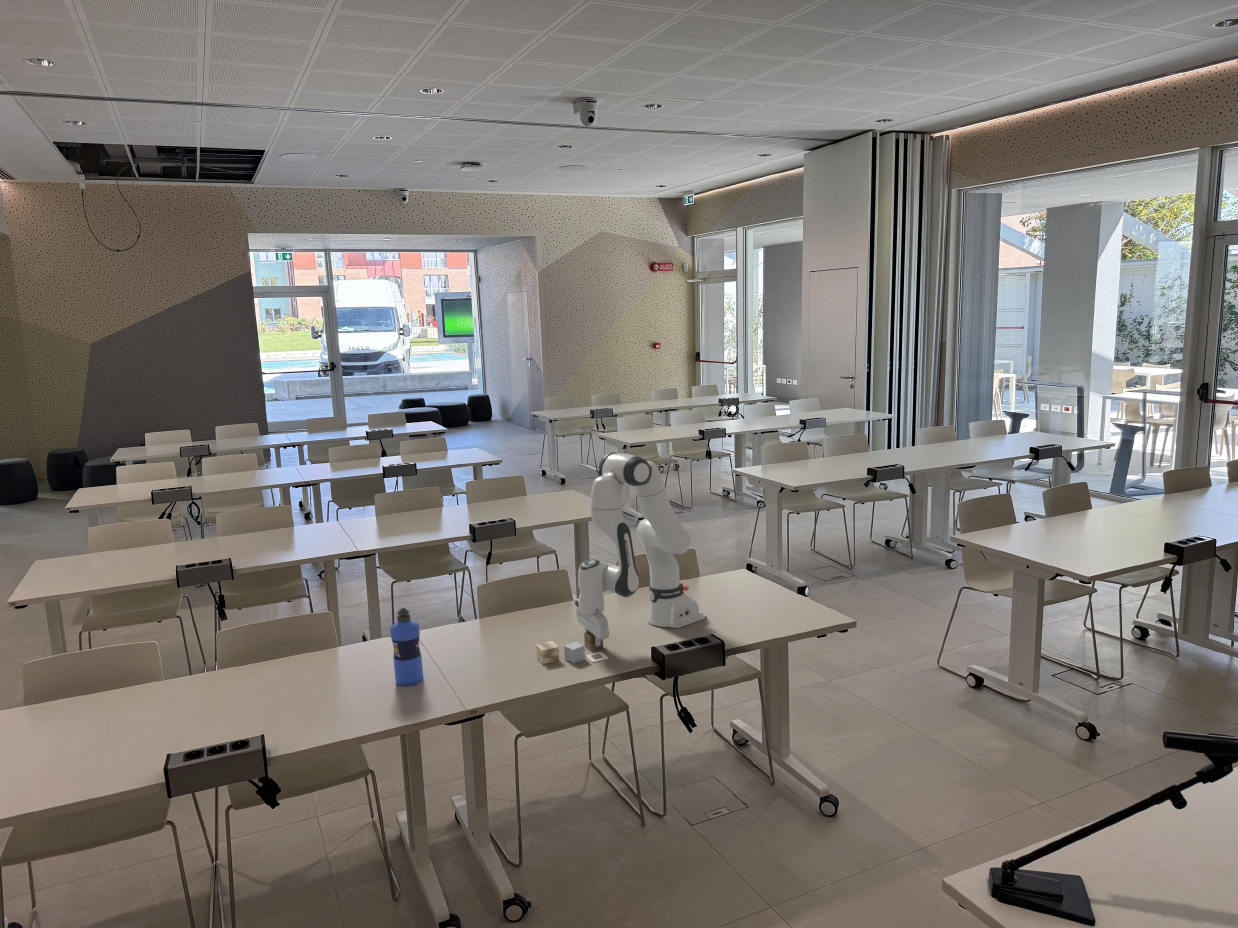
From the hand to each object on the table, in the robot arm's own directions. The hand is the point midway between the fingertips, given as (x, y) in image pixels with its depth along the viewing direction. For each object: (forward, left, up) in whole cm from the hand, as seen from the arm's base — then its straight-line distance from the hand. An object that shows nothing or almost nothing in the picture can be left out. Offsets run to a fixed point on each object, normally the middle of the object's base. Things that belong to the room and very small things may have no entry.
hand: (593, 642), depth 302 cm
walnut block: (0, 0, -2) cm, 2 cm away
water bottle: (+64, -7, -2) cm, 65 cm away
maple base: (+18, +1, -2) cm, 18 cm away
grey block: (+10, +6, -2) cm, 12 cm away
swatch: (+3, +9, -2) cm, 10 cm away
